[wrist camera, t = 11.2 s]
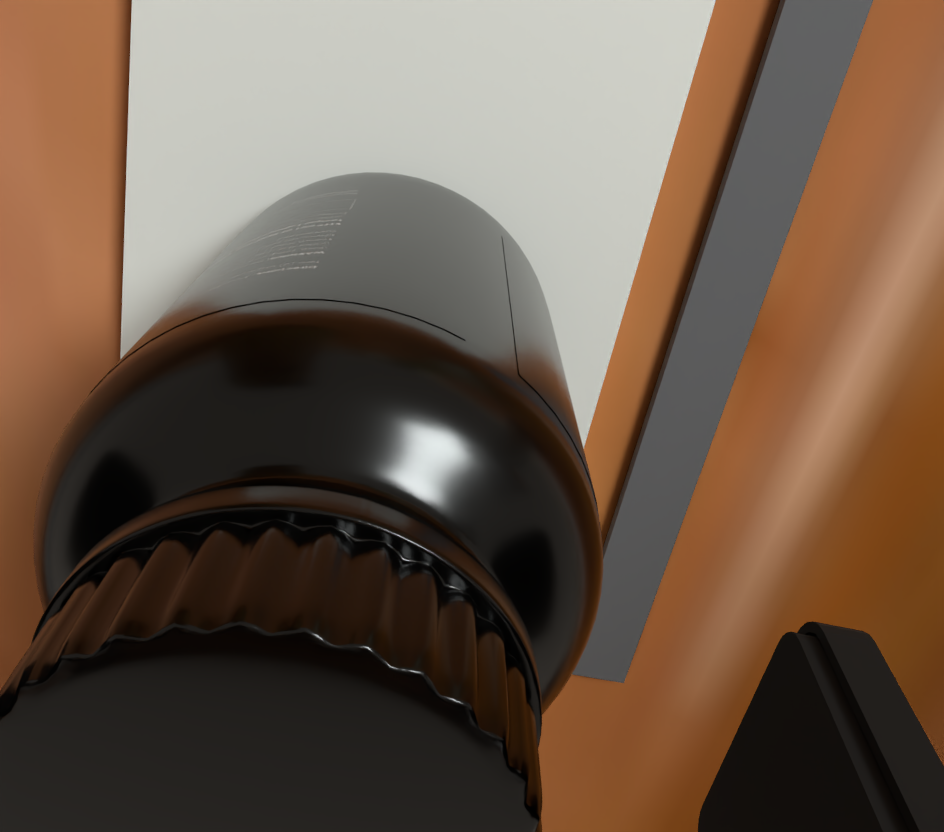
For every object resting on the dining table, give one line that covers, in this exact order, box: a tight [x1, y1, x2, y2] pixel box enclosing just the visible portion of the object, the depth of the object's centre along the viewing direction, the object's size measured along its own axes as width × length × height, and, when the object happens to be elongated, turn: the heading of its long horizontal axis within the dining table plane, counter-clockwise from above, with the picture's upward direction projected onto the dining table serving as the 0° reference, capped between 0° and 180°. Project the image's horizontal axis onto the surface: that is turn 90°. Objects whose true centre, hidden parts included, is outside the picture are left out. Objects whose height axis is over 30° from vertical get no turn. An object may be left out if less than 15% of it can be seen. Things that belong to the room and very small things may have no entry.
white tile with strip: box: [120, 0, 873, 683], centre depth 18 cm, size 13×16×1 cm
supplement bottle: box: [0, 172, 603, 832], centre depth 12 cm, size 7×7×12 cm
